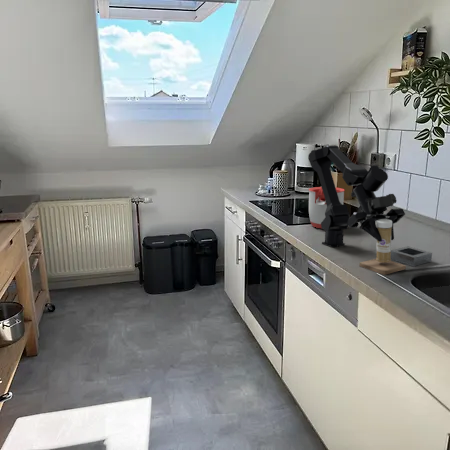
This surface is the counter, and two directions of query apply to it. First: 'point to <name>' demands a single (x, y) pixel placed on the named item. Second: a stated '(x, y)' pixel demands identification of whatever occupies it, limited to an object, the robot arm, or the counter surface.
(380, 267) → the walnut coaster
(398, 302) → the counter surface
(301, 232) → the counter surface
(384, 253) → the sprinkles bottle
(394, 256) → the square collar
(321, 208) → the citrus juicer
